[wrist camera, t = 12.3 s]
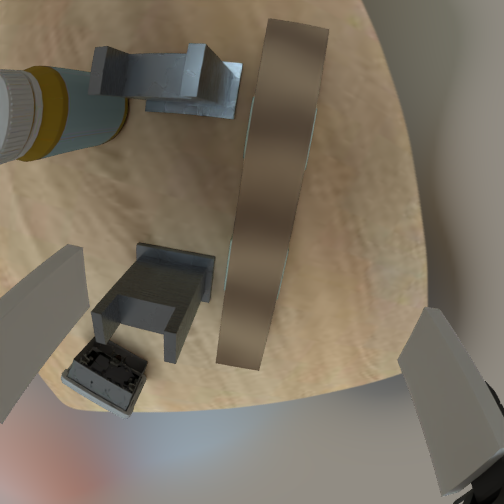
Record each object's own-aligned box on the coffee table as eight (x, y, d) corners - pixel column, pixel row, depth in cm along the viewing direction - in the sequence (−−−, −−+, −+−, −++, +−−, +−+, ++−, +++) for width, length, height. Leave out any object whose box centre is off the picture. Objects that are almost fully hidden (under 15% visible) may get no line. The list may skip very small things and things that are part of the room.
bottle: (144, 95, 24) (30, 86, 11) (107, 157, 27) (-7, 197, 13) (94, 65, 23) (-21, 49, 9) (63, 124, 26) (-52, 145, 12)
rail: (270, 34, 19) (268, 18, 16) (321, 43, 19) (329, 29, 16) (222, 336, 31) (215, 362, 27) (261, 343, 31) (259, 370, 27)
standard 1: (138, 242, 30) (82, 298, 20) (215, 256, 30) (184, 324, 20) (139, 284, 32) (91, 348, 22) (210, 299, 32) (183, 374, 22)
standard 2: (155, 59, 23) (90, 33, 13) (243, 64, 23) (220, 28, 13) (147, 111, 25) (78, 111, 15) (233, 119, 25) (204, 116, 15)
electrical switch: (88, 346, 37) (57, 388, 28) (96, 320, 36) (61, 362, 27) (146, 379, 39) (125, 427, 30) (158, 356, 37) (136, 406, 28)
